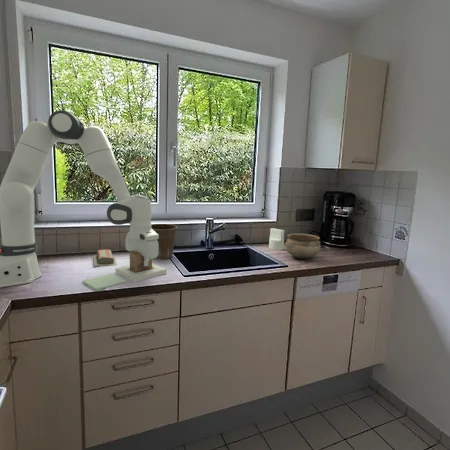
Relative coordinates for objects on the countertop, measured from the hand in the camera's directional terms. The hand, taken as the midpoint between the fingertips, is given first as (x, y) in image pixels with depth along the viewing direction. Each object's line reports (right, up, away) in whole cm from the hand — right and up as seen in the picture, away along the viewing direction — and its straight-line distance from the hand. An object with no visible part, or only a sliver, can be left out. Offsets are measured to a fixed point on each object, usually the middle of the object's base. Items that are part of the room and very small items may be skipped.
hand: (141, 264), depth 137 cm
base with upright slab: (+68, +2, +59) cm, 90 cm away
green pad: (-12, -6, -12) cm, 18 cm away
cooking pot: (+79, -2, +38) cm, 88 cm away
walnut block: (0, -4, +1) cm, 4 cm away
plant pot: (+3, 0, +30) cm, 30 cm away
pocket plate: (0, -5, +1) cm, 5 cm away
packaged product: (-22, -2, +17) cm, 28 cm away
